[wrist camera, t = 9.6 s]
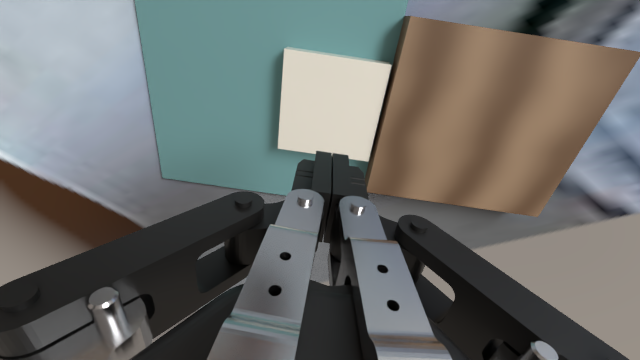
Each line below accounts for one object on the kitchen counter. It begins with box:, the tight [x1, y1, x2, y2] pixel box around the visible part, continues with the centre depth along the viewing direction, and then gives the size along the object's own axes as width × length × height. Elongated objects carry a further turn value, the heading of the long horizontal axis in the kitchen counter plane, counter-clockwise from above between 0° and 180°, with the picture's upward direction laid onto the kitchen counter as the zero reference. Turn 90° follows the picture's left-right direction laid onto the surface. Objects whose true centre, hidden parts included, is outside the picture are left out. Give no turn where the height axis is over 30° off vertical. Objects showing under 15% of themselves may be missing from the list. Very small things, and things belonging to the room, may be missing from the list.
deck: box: [365, 16, 640, 217], centre depth 24 cm, size 16×14×2 cm
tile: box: [278, 47, 392, 162], centre depth 24 cm, size 8×8×2 cm
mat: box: [135, 0, 408, 196], centre depth 24 cm, size 20×20×1 cm
